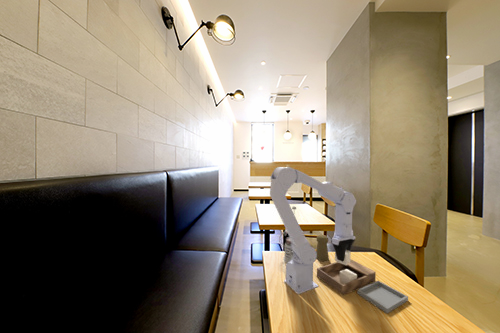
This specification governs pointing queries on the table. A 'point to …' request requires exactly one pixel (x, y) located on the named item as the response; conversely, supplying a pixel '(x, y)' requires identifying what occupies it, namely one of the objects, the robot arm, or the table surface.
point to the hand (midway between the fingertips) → (342, 258)
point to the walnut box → (364, 274)
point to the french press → (287, 247)
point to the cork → (322, 248)
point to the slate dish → (382, 296)
